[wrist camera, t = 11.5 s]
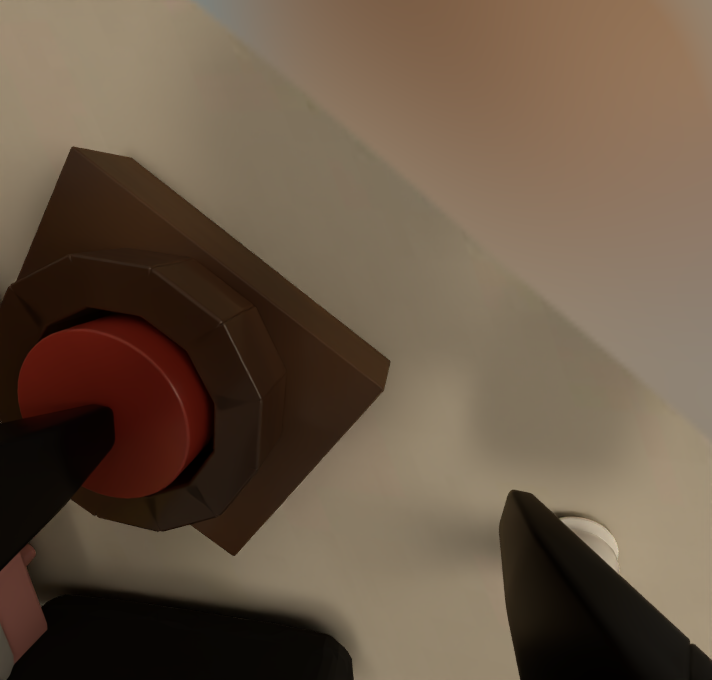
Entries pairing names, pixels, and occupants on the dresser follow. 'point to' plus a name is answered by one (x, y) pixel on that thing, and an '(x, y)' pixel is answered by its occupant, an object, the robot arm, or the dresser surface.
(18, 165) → the dresser surface
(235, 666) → the film camera
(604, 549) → the chess pawn
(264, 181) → the dresser surface
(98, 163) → the button box
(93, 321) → the button
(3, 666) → the alarm clock
